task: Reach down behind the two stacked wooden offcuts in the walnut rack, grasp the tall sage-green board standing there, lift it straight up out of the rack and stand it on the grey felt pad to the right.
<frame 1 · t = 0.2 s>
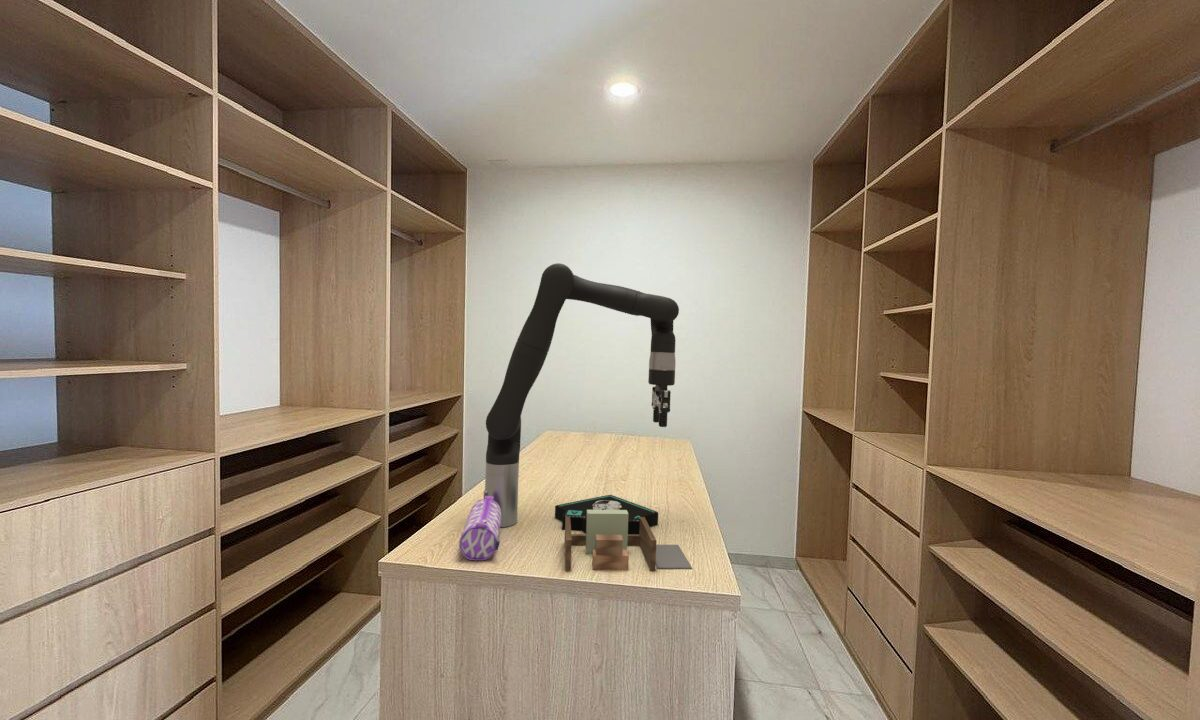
hand: (659, 424, 150), 29 cm above the table, tool pointing down, fingers open, 8 cm apart
pencil case: (481, 546, 130), on the table
upper offcut: (608, 552, 120), point 3 cm above the table, touching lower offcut
felt pad: (668, 556, 126), on the table
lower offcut: (609, 567, 120), on the table, touching upper offcut
wall plaque: (605, 523, 151), on the table
rack: (606, 553, 127), on the table
green board: (606, 551, 128), resting in rack
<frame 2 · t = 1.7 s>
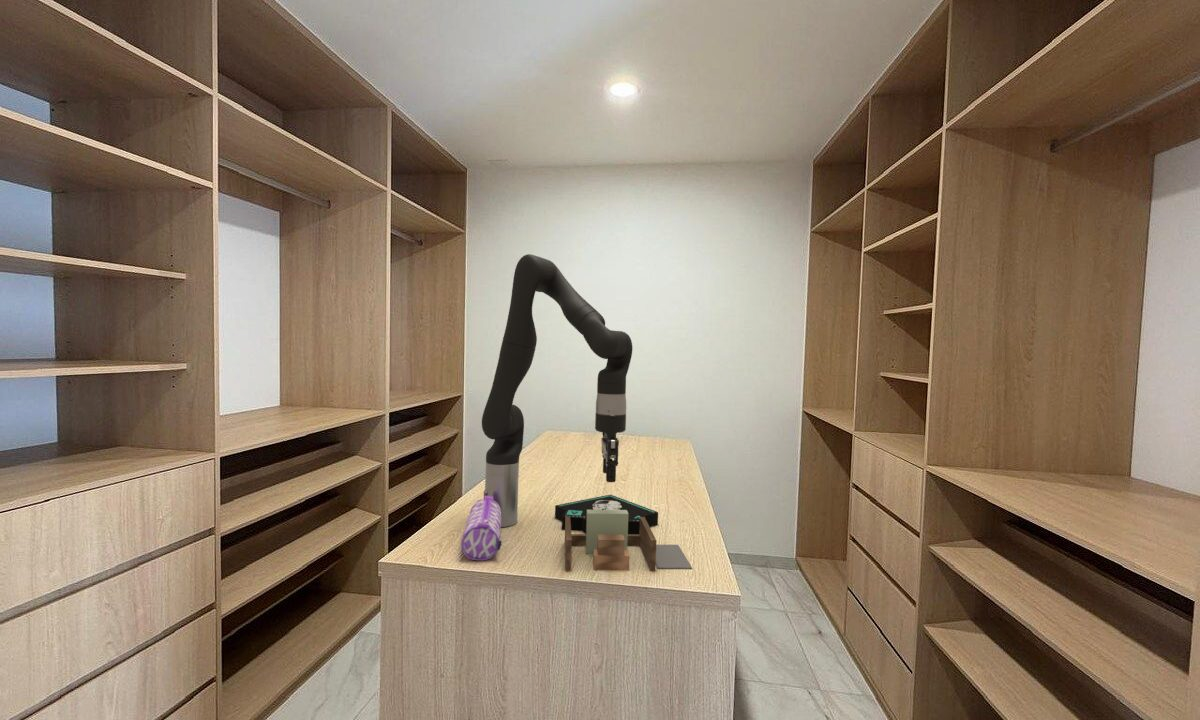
hand: (608, 477, 128), 18 cm above the table, tool pointing down, fingers open, 8 cm apart
nothing on the table moved.
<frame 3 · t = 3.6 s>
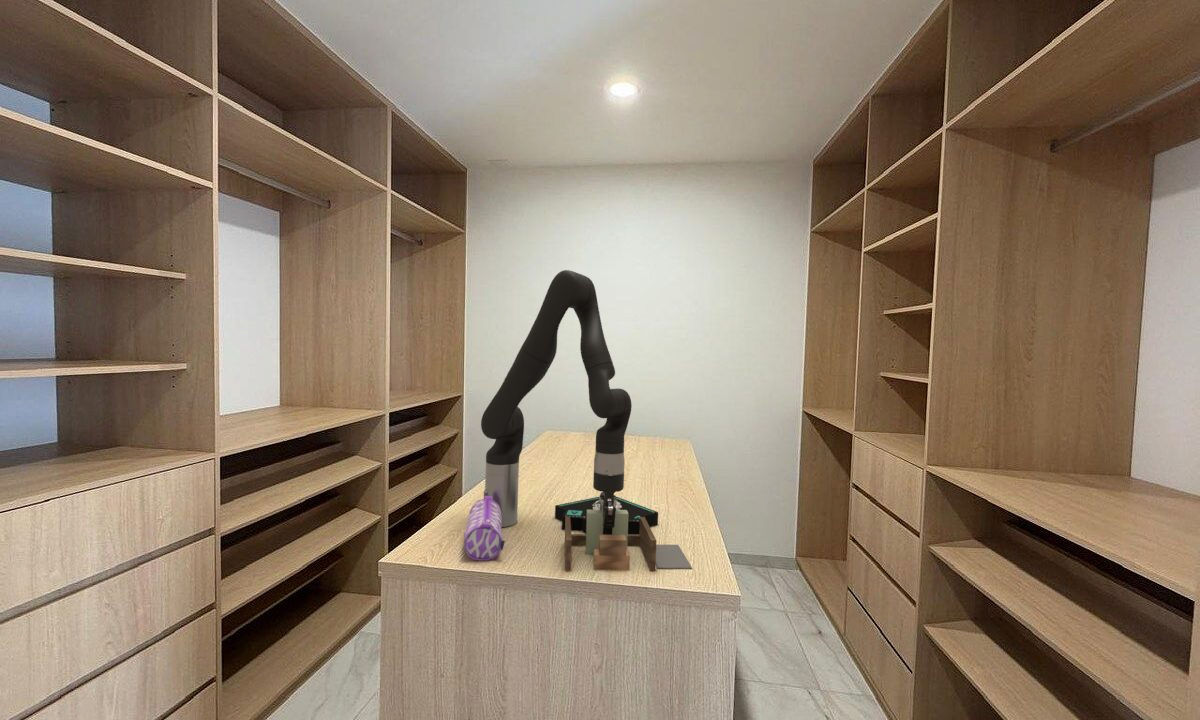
hand: (606, 539, 128), 3 cm above the table, tool pointing down, fingers closed on green board, 3 cm apart
upper offcut: (612, 552, 119), point 3 cm above the table
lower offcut: (611, 567, 120), on the table
green board: (606, 551, 128), resting in rack, touching gripper
everything else where it was.
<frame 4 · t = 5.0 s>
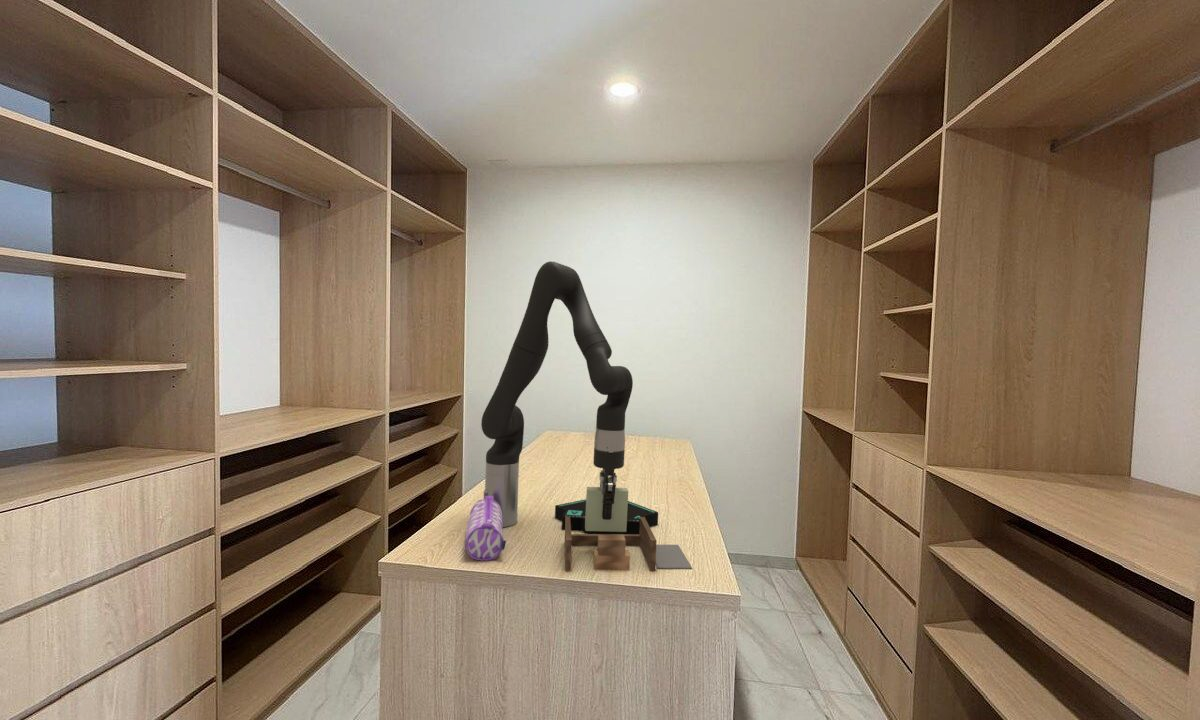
hand: (606, 516, 128), 9 cm above the table, tool pointing down, fingers closed on green board, 3 cm apart
upper offcut: (611, 552, 119), point 3 cm above the table, touching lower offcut
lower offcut: (611, 567, 120), on the table, touching upper offcut
green board: (605, 529, 128), point 6 cm above the table, touching gripper
everything else where it was.
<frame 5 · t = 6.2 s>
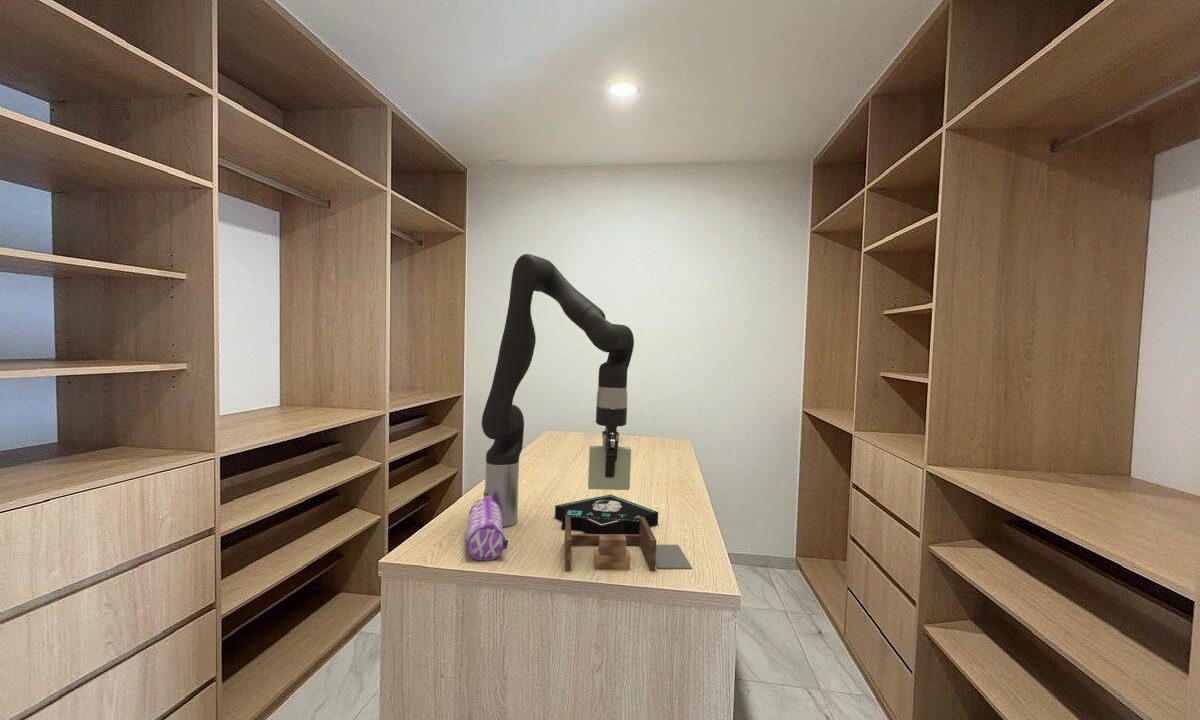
hand: (609, 475, 128), 19 cm above the table, tool pointing down, fingers closed on green board, 3 cm apart
green board: (608, 487, 128), point 16 cm above the table, touching gripper
when the fingers open (4 cm above the table, at t = 10.3 s): green board stays where it is, resting on felt pad.
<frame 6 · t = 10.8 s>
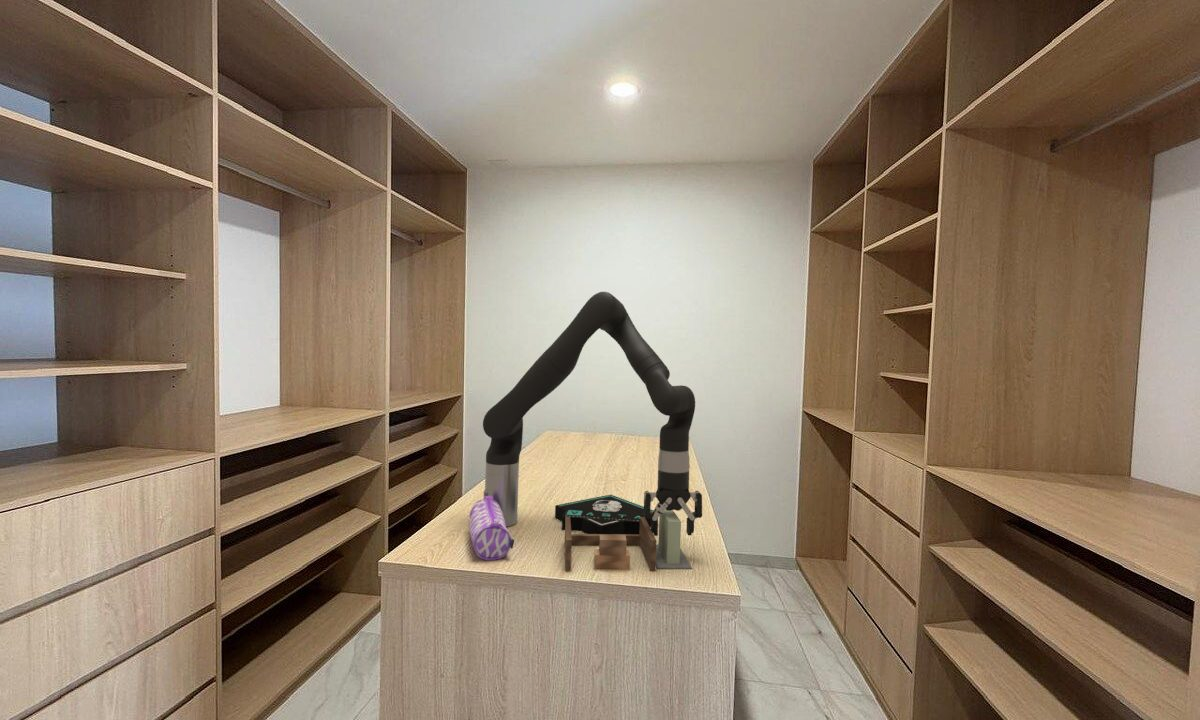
hand: (672, 534, 126), 5 cm above the table, tool pointing down, fingers open, 8 cm apart
green board: (668, 555, 126), resting on felt pad
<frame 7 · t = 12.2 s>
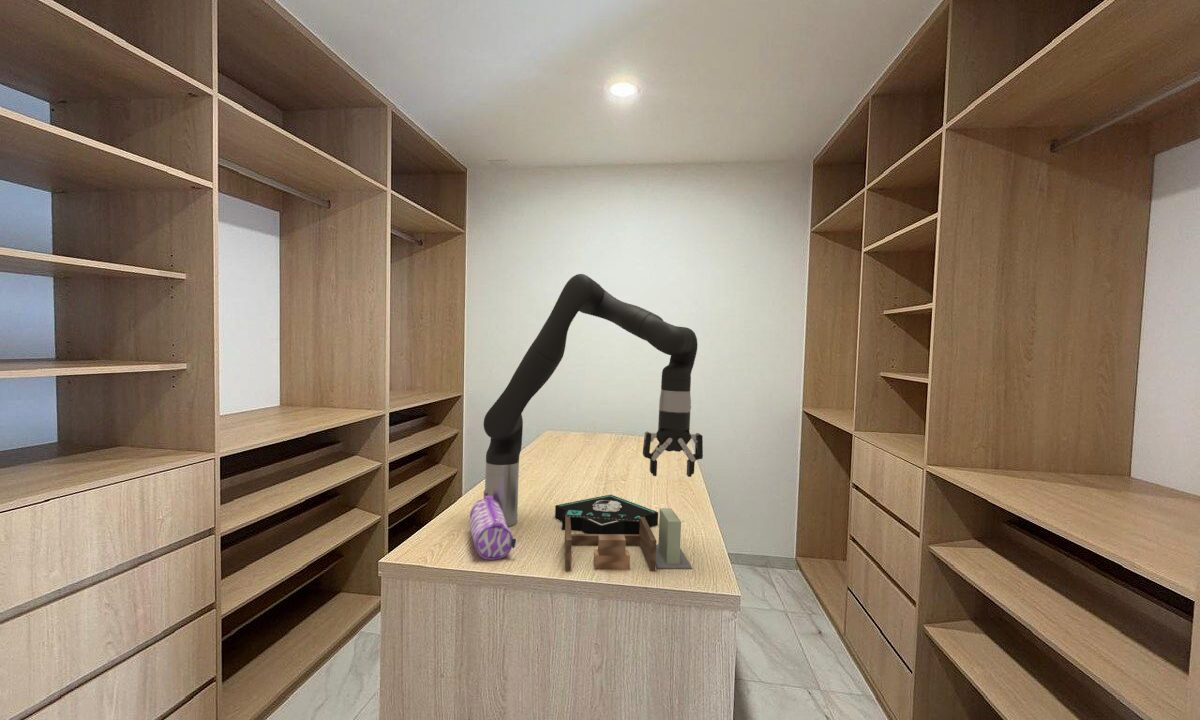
hand: (671, 475, 126), 20 cm above the table, tool pointing down, fingers open, 8 cm apart
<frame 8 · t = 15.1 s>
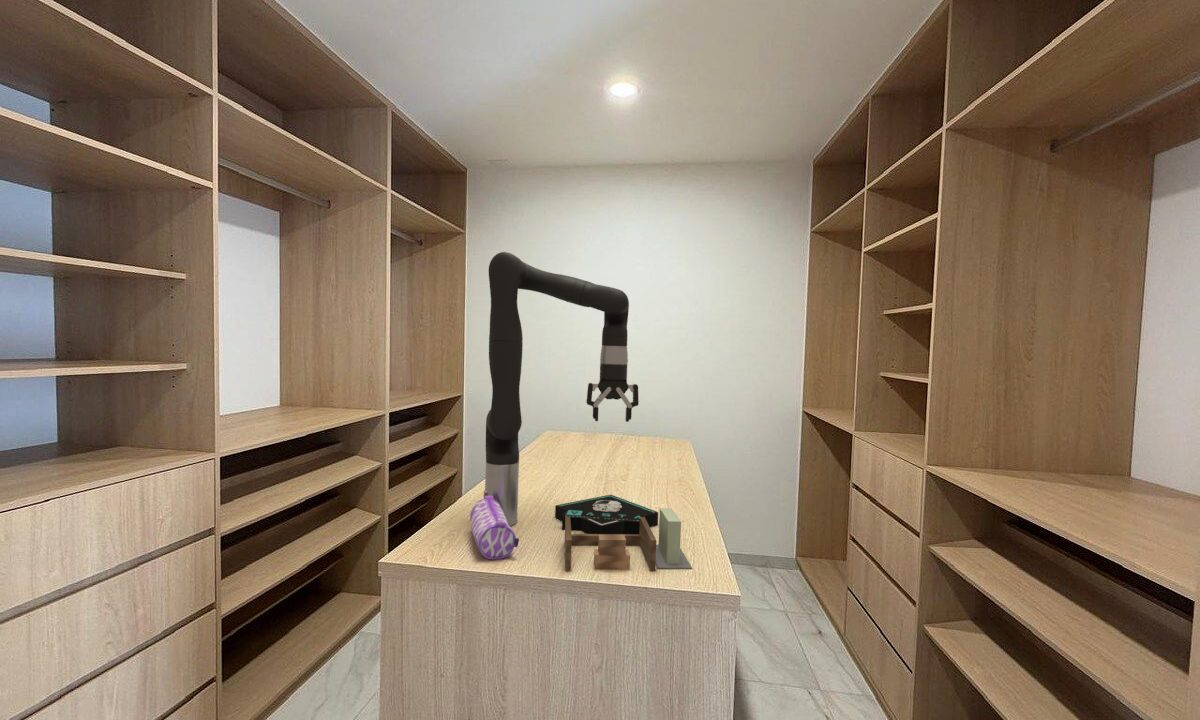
hand: (611, 421, 144), 30 cm above the table, tool pointing down, fingers open, 8 cm apart
at the end: green board inside the target area (0.0 cm from its centre), resting on felt pad; green board tilted 0°; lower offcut moved 0.6 cm from its start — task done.
